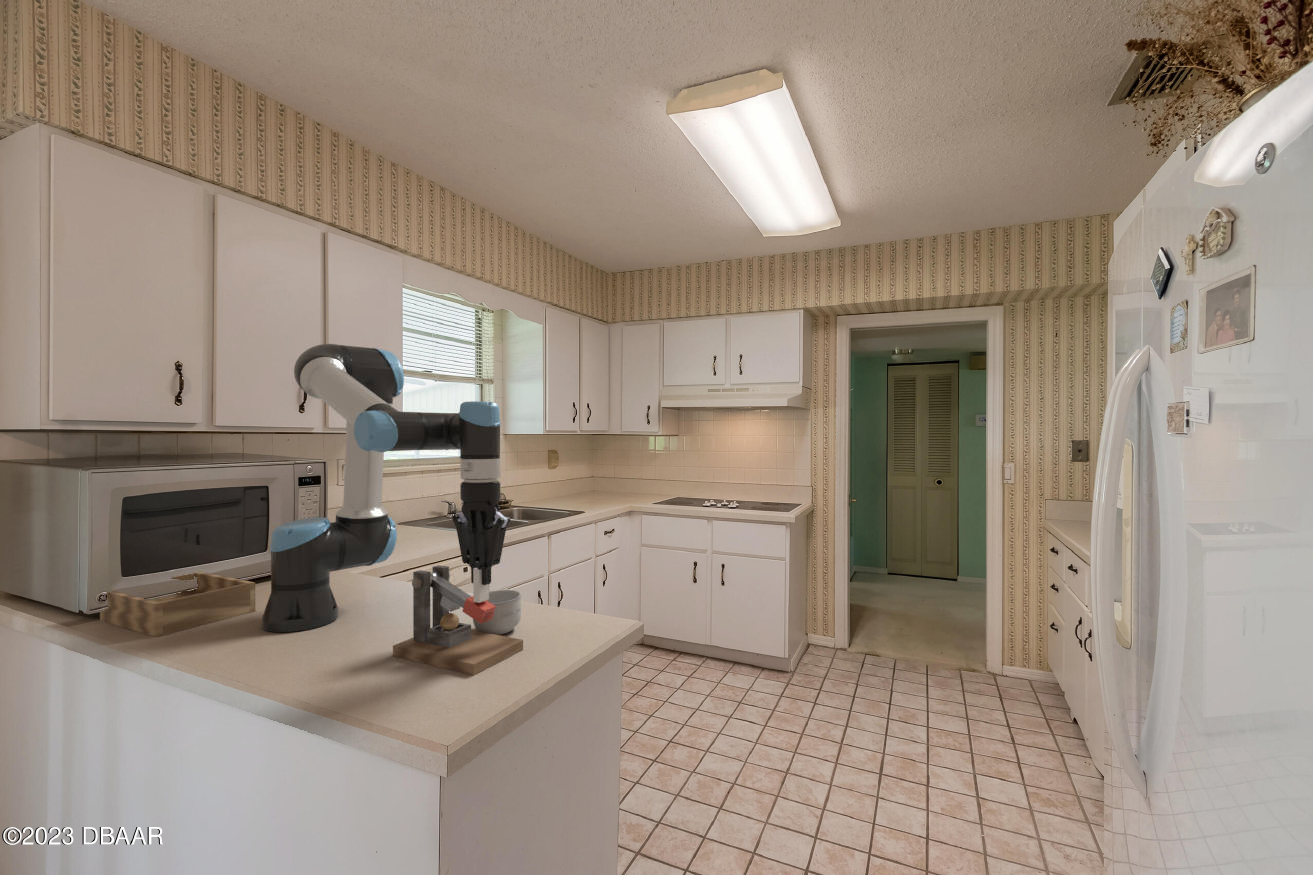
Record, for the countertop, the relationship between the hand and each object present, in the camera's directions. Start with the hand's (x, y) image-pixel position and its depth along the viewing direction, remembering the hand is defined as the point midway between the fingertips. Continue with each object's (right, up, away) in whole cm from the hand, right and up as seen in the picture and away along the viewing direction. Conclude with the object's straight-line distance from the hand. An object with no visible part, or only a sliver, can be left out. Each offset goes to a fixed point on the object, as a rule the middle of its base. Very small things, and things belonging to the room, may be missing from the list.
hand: (481, 600), depth 116 cm
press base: (-5, -11, +3) cm, 13 cm away
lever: (-7, -3, +3) cm, 8 cm away
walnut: (-8, -5, +4) cm, 10 cm away
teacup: (-1, -11, +17) cm, 21 cm away
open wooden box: (-79, -11, +25) cm, 84 cm away
